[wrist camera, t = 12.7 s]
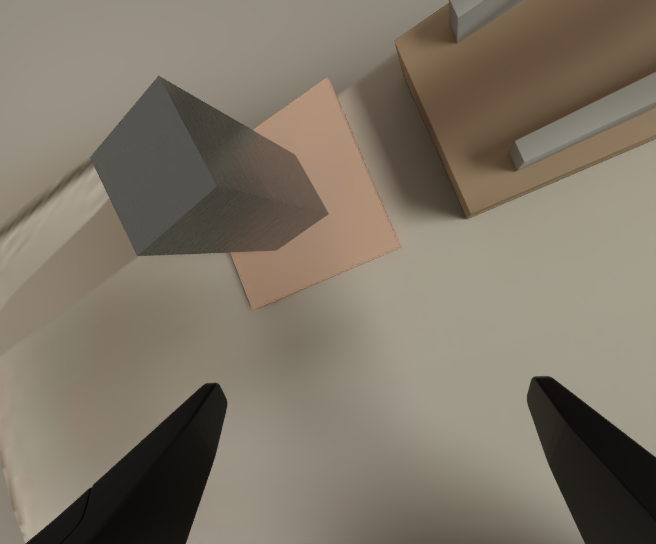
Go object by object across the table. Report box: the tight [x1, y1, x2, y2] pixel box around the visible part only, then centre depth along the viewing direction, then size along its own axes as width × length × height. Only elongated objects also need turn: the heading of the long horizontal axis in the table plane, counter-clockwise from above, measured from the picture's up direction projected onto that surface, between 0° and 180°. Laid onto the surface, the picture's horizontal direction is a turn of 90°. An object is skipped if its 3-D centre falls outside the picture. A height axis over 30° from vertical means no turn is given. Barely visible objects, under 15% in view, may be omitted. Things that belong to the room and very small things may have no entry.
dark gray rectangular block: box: [90, 76, 329, 256], centre depth 14 cm, size 5×4×9 cm
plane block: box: [395, 0, 656, 219], centre depth 11 cm, size 8×11×4 cm
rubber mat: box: [230, 78, 401, 310], centre depth 18 cm, size 10×10×1 cm
